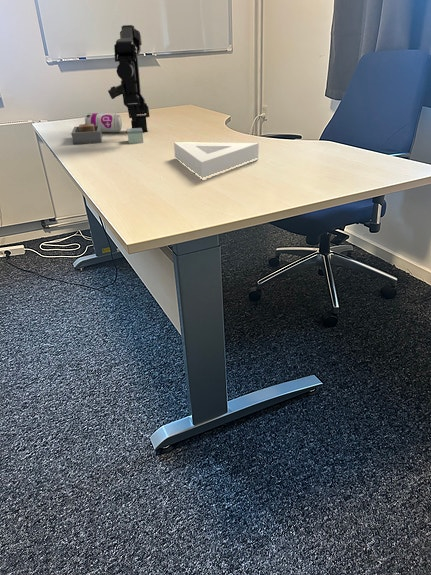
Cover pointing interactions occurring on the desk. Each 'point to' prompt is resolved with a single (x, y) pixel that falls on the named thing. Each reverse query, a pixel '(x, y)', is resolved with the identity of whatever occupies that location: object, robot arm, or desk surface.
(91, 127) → the walnut block
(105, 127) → the supplement can
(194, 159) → the triangle block
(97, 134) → the tote
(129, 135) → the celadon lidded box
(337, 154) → the desk surface
